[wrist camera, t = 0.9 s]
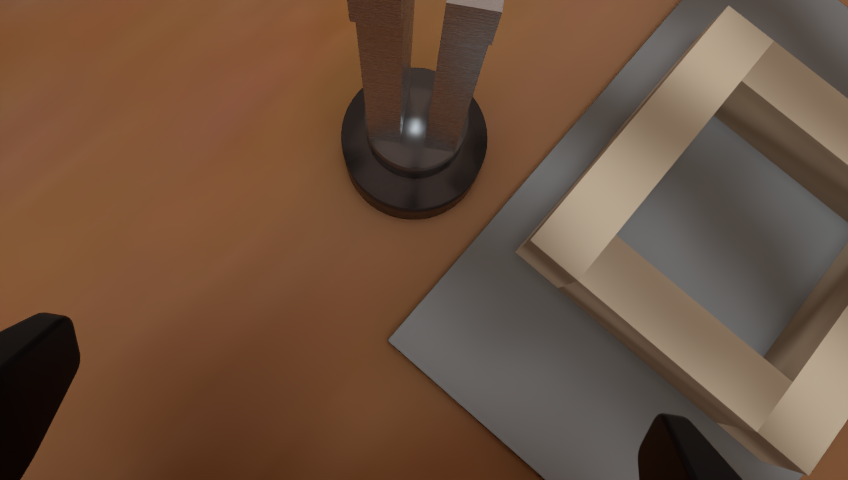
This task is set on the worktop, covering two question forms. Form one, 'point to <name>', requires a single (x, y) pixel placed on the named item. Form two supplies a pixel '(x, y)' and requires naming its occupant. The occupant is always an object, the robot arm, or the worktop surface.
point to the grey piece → (417, 108)
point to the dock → (669, 259)
